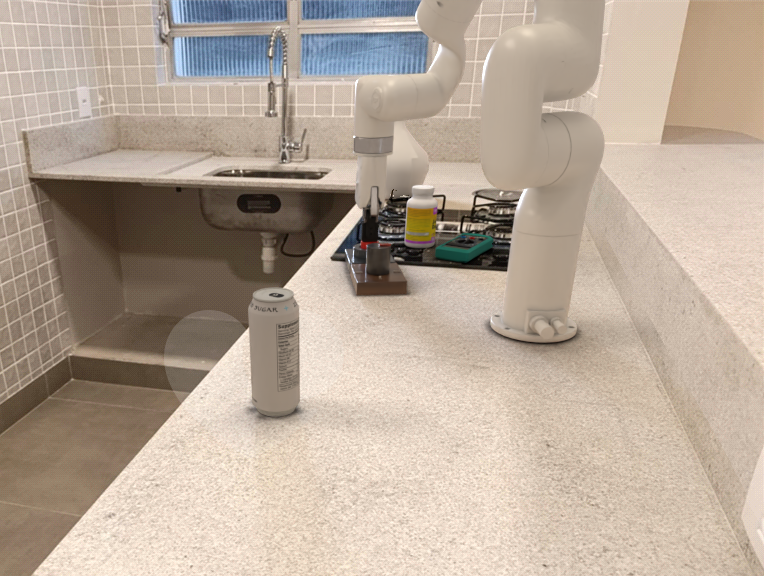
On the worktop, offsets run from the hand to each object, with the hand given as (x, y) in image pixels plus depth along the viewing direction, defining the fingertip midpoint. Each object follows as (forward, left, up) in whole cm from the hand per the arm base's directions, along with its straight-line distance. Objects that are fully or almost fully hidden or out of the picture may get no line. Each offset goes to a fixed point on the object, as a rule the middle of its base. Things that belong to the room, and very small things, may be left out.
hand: (369, 240), depth 141 cm
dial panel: (-13, 0, -5) cm, 14 cm away
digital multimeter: (+7, -21, -5) cm, 23 cm away
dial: (-13, 0, -3) cm, 13 cm away
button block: (0, 0, -5) cm, 5 cm away
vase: (+71, -16, -5) cm, 73 cm away
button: (0, 0, -2) cm, 2 cm away
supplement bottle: (+15, -13, -5) cm, 20 cm away
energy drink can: (-62, +19, -5) cm, 65 cm away
